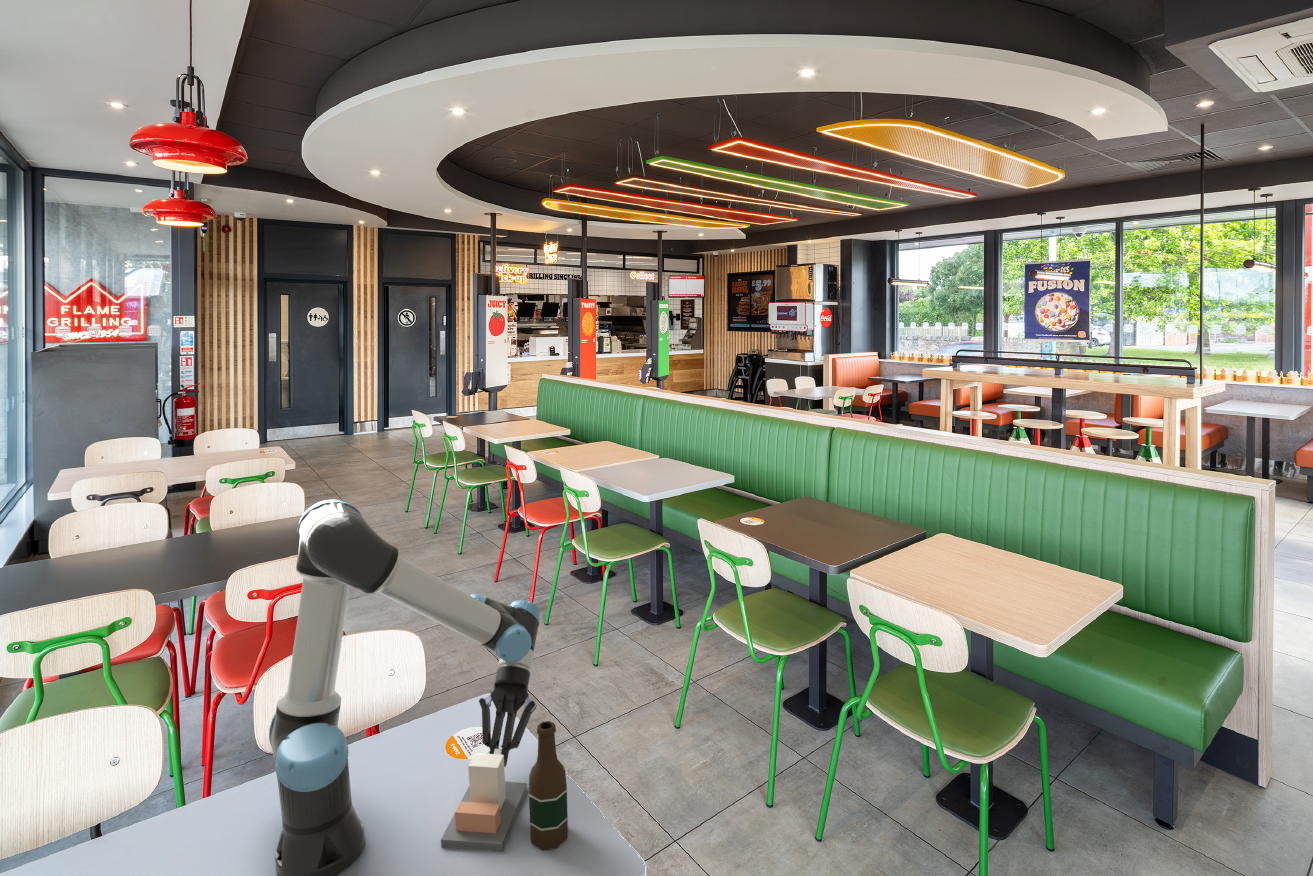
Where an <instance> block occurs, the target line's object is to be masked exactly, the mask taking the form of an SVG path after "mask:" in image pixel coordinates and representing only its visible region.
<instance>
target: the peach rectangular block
mask: <svg viewBox="0 0 1313 876" xmlns="http://www.w3.org/2000/svg"><path fill="white" fill-rule="evenodd" d="M454 814H455V822H456V831H470V832H483V833H496V832H497V830H498V827H499V825H500V823H501V815H500V804H491V803H477V802H462V800H461V801H460V802H459V804H458V806H457V807H456V810H455V812H454Z"/></svg>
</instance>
